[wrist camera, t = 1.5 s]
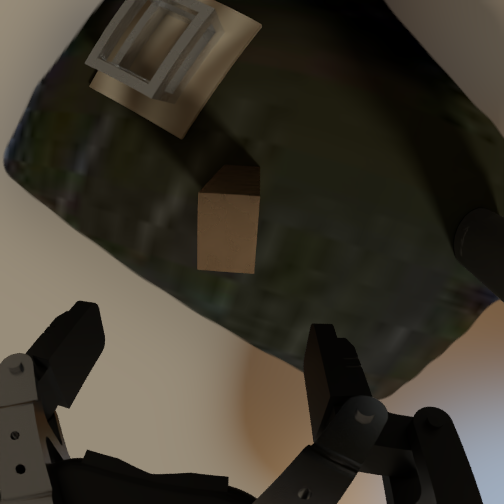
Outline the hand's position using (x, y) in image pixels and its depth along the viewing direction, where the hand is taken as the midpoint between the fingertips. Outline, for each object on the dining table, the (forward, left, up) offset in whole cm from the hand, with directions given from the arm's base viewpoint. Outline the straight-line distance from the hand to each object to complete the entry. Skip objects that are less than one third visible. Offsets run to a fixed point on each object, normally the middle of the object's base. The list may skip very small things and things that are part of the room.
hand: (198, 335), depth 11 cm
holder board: (+9, -16, -27) cm, 33 cm away
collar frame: (+9, -16, -27) cm, 33 cm away
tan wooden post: (0, 0, -27) cm, 27 cm away
